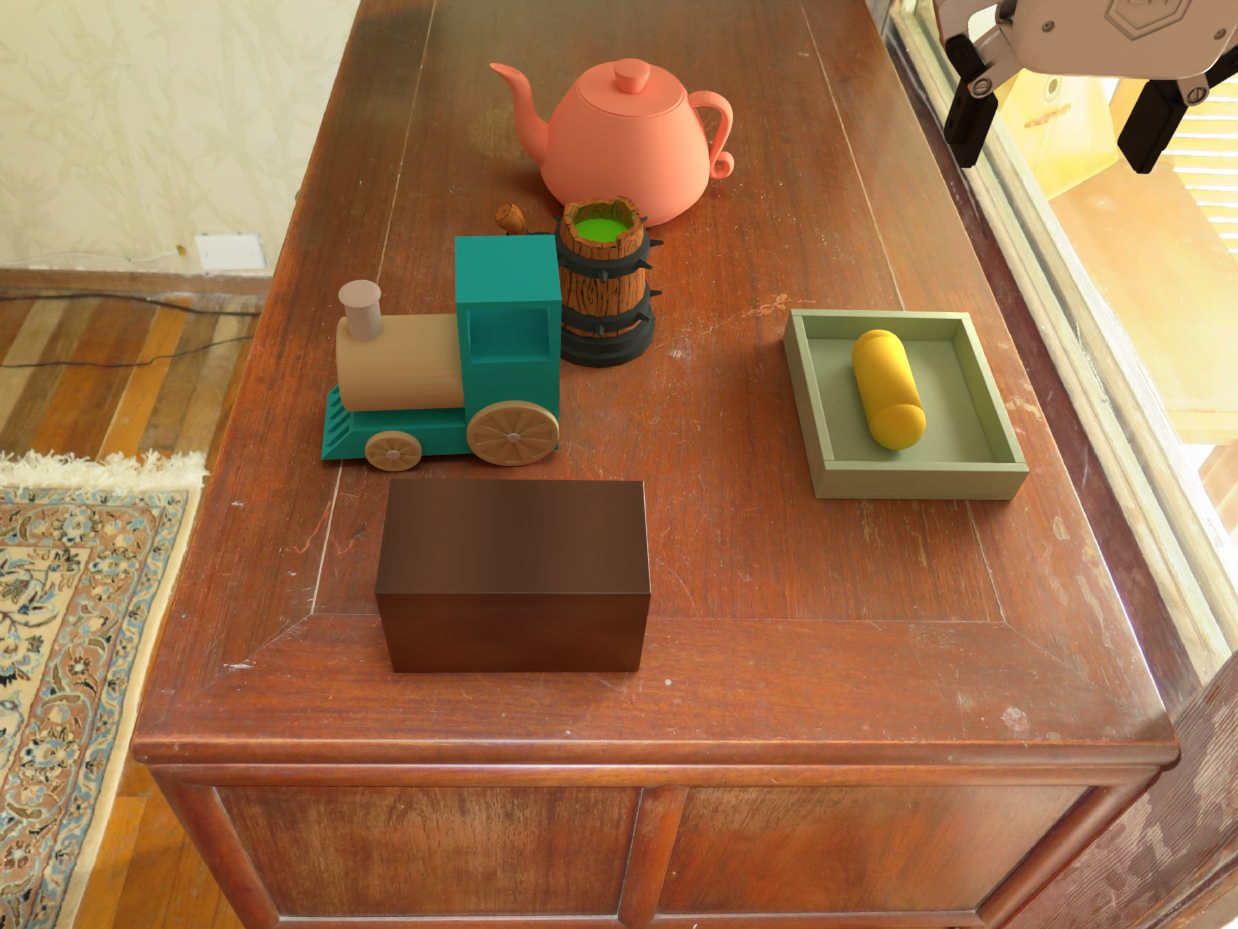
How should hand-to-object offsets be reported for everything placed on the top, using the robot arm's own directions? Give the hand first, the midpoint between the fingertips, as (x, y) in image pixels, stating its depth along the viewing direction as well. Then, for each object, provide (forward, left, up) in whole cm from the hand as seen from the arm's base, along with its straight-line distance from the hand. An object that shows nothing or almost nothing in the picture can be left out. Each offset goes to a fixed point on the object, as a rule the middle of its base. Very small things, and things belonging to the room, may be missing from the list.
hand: (1045, 156), depth 54 cm
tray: (+4, -3, -26) cm, 26 cm away
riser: (+7, +31, -26) cm, 41 cm away
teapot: (+39, -3, -26) cm, 47 cm away
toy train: (+23, +26, -26) cm, 43 cm away
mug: (+26, +11, -26) cm, 38 cm away
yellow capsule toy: (+4, -3, -25) cm, 25 cm away
